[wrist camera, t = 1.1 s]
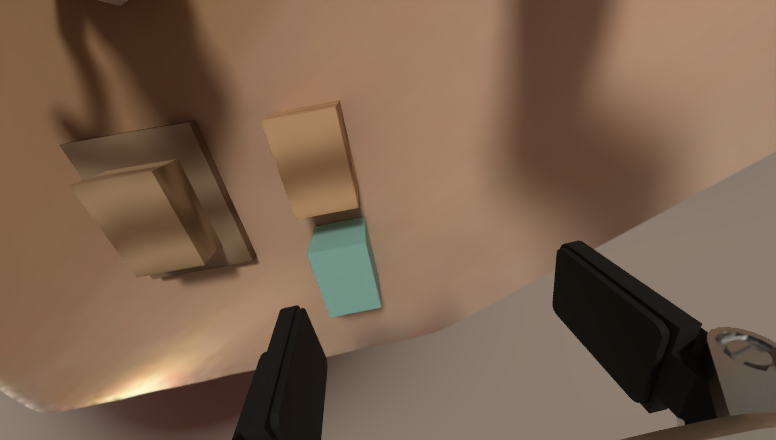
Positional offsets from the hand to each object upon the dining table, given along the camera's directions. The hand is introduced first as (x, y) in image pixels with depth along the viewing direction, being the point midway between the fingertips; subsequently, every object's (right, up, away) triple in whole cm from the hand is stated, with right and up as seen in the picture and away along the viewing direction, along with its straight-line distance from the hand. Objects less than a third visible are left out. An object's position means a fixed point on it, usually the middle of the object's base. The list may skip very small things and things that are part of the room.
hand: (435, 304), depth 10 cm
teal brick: (-7, -1, +26) cm, 27 cm away
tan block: (-9, +10, +20) cm, 24 cm away
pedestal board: (-25, +5, +21) cm, 33 cm away
